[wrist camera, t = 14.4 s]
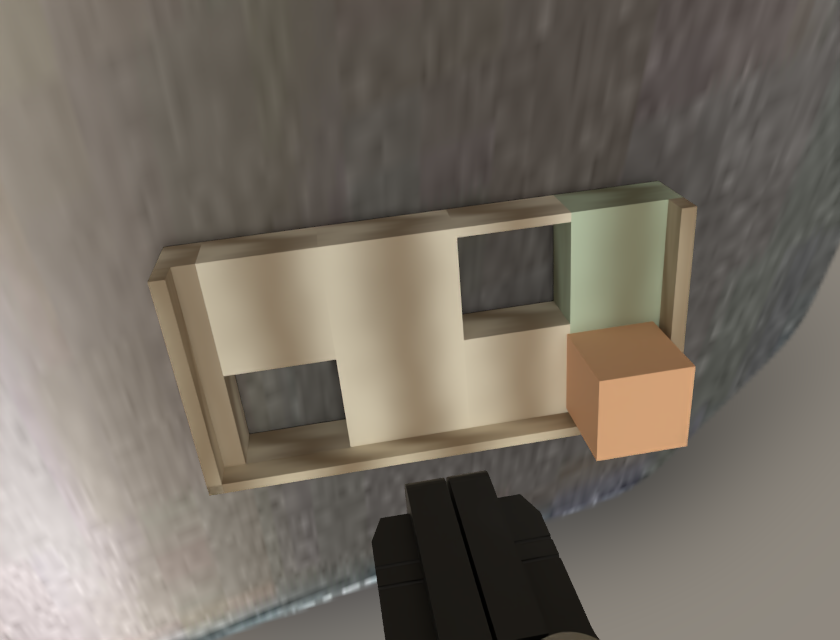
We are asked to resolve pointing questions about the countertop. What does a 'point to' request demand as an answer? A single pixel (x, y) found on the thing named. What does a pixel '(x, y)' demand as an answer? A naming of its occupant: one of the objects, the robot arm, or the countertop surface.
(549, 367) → the beige wooden tray
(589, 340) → the block
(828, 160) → the countertop surface
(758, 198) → the countertop surface
